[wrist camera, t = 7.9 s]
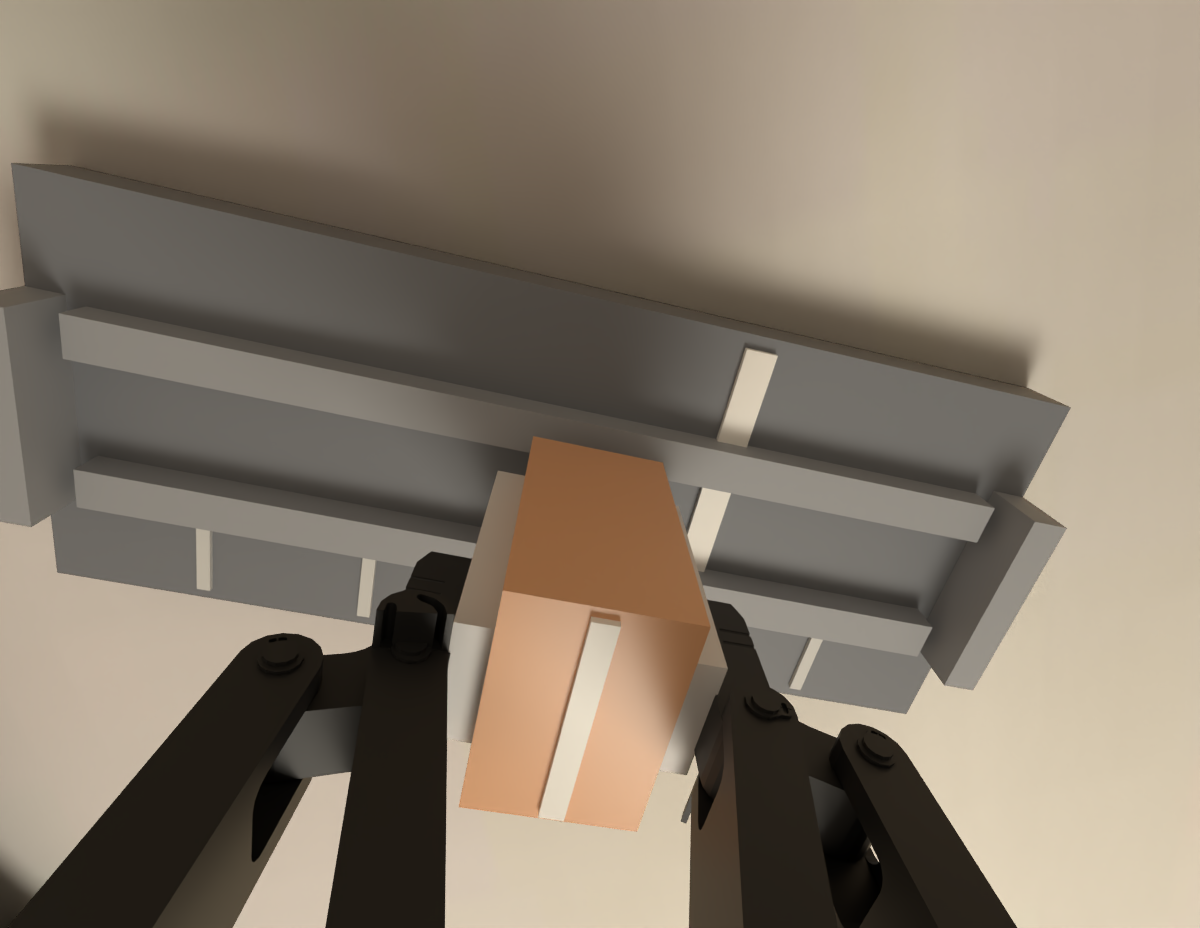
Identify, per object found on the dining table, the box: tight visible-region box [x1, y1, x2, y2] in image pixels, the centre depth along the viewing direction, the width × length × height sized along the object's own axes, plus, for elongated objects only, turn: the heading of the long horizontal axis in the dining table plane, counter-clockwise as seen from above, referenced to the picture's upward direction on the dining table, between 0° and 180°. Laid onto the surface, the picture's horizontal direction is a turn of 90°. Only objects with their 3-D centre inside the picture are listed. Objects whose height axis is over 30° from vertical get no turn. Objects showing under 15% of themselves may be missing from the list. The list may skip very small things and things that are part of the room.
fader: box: [459, 436, 711, 832], centre depth 16 cm, size 5×4×9 cm
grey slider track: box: [0, 163, 1071, 714], centre depth 20 cm, size 12×29×4 cm, turn 77°
